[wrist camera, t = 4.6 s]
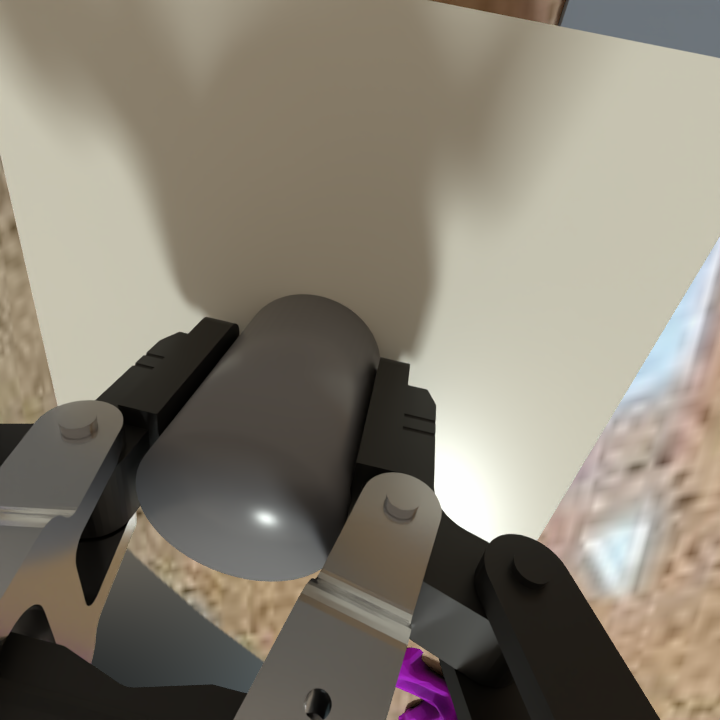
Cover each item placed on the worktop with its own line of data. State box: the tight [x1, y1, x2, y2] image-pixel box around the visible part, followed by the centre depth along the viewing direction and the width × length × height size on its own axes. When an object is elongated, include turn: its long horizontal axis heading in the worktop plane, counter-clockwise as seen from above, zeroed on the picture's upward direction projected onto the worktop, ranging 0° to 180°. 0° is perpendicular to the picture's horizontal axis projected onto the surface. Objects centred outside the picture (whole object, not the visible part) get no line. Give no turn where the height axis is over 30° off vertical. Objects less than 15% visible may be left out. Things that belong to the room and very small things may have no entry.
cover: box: [0, 0, 720, 581], centre depth 10 cm, size 15×15×6 cm
